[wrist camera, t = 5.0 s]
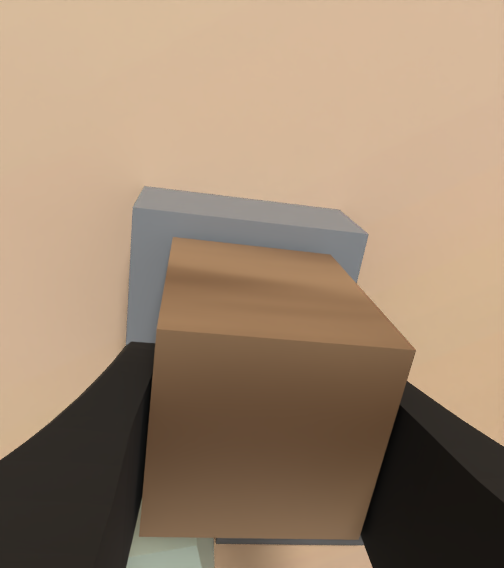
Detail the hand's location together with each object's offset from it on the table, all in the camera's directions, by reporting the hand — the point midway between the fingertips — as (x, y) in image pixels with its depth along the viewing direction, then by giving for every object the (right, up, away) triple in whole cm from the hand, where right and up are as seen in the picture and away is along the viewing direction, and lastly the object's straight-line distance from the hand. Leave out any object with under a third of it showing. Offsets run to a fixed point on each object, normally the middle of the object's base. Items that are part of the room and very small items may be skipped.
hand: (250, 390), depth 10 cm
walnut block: (0, +1, +2) cm, 3 cm away
